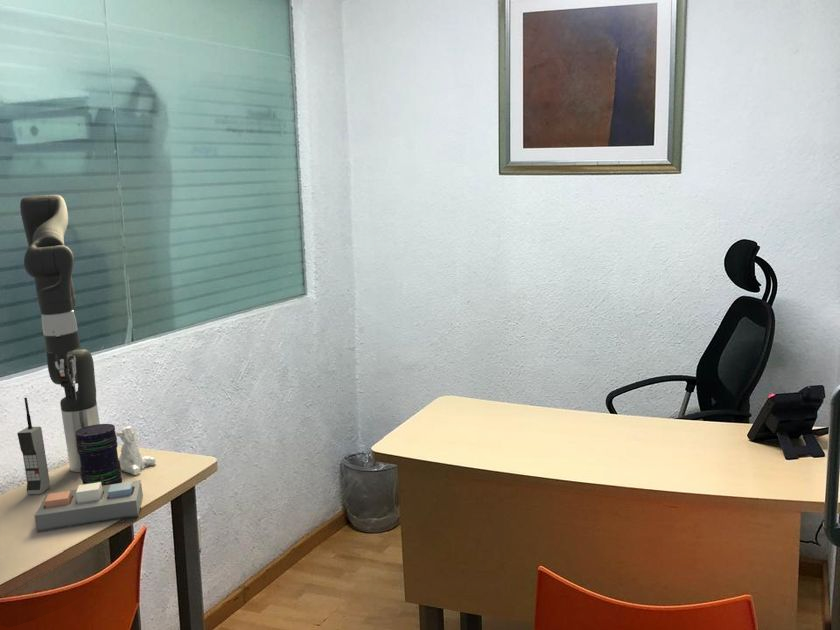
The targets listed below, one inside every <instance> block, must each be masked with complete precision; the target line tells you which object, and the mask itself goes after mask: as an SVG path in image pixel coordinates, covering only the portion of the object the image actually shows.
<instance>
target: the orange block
mask: <svg viewBox="0 0 840 630" xmlns="http://www.w3.org/2000/svg"><path fill="white" fill-rule="evenodd" d="M65 491H66V492H63V491H58V492H59V493H56V492H51V493H52V494H50V493H47V494H48V496H47V498H46V500H45V507H46V508H49V507H55V506H62V505H69V504H70V503H71V501H72V494H71V491H70V490H65Z"/></svg>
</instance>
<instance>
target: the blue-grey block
mask: <svg viewBox="0 0 840 630" xmlns="http://www.w3.org/2000/svg"><path fill="white" fill-rule="evenodd" d="M108 495H109V498H115V497H122V496H129V495H133V484H132V482H131V481H127V483H125V482H122V483H120V484H113V485H110V488H109V491H108Z"/></svg>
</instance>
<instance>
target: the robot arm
mask: <svg viewBox="0 0 840 630" xmlns="http://www.w3.org/2000/svg"><path fill="white" fill-rule="evenodd" d="M19 209H20V216H21V220H22V226H23V228H24V229H23V230H24V233H25V238H26V241H27V245H28V248H27V250H26V252H25V253H24V257H23V266H24V269H25V271H26V273H27V274H28V275H29V276H30V277H32V278H34V283H35V291H36V297H37V301H38V306H39V311H40V315H41V327H42V332H43V333H42V334H43V339H44V346H45V352H46V353H45V354H46V364H47V369H48V370H47V371H48V374H49V378H50V380H51V382H52V383H53V384H55V385H60V387H61V388H63V390H64V397H63V398H61V399H60V402H59V403H60V411H61V418H62V424H63V430H64V437H65V439H64V440H65V444H66V451H67V457H68V465H69V471H70V472H72V473H74V472H75V473H81V472H80V471H81V470H80V468H81V463H80V456H79V454H78V452H77V445H76V442H77V441H76V435H75V432H76V431H77V430H79V429H81V428H84V427H87V426H91V425H97V424H101V423H100V416H99V411H98V403H97V385H96V376H95V363H94V359H93V356H92V354H91V352H90V351H89V350H88V349H80V347H81V342H80V335H79V329H78V324H77V317H76V315H75V311H74V309H75V306H76V301H77V300H76V293H75V288H74V281H73V278H72V276H73V269H74V263H75V258H74V253H73V252H72V250H71V249H70V248H69V247H68V246H66V245H65V238H64V237H65V235H66V232H67V228H68V225H69V213H68V207H67V203H66V201H65V198H63V197H62V195H59V194H44V195H35V196H34V195H33V196H26V197H23V198H21V200H20V205H19ZM76 384H77V388H76ZM76 389H77V390H76Z"/></svg>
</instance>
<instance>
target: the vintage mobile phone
mask: <svg viewBox="0 0 840 630" xmlns="http://www.w3.org/2000/svg"><path fill="white" fill-rule="evenodd" d="M24 404H25V405H24V407H25V411H26V421H27V426H26V427H25V428H23V429H22V430H20V431H18V432H16V433H17V440H18V442H19V443H18V444H19V448H20V452H21V454H22V457H23V463H24V465H23V466H24V471H25V476H26V477H25V478H26V494H27V495H28V494H34V495H42V494H43V493H44V492H46V491H47V490H48V489H50V488H51V480H50V475H49V468H48V462H47V457H46V450H45V449H46V447H45V442H44V436H43V431H42V427H41V426H32V419H31V414H30V410H29V409H30V408H29V403H28V398H27V397H24ZM45 490H46V491H45ZM41 493H42V494H41Z"/></svg>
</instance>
